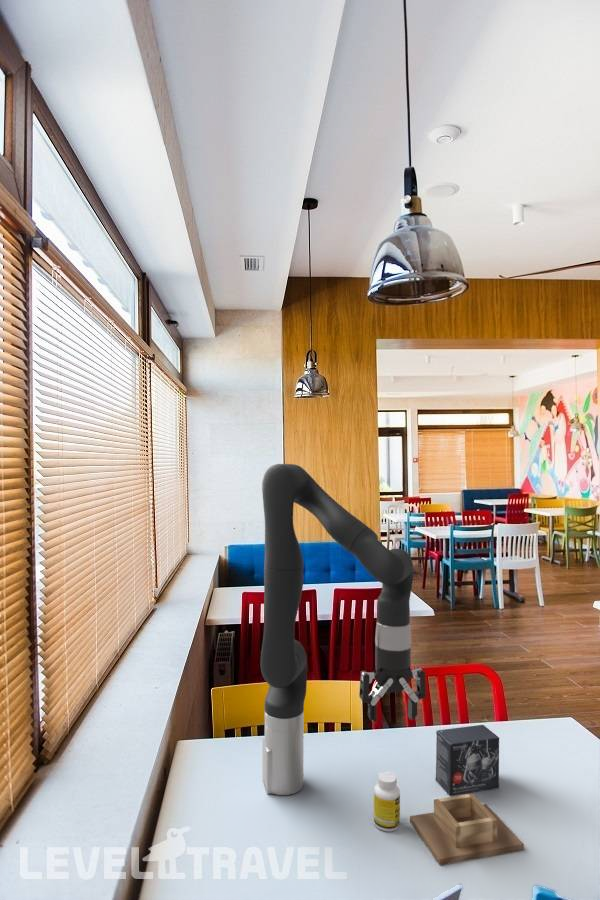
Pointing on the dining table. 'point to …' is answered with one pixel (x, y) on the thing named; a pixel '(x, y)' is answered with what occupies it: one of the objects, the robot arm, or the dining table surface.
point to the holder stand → (464, 830)
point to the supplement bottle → (387, 802)
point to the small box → (467, 759)
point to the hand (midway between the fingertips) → (392, 719)
